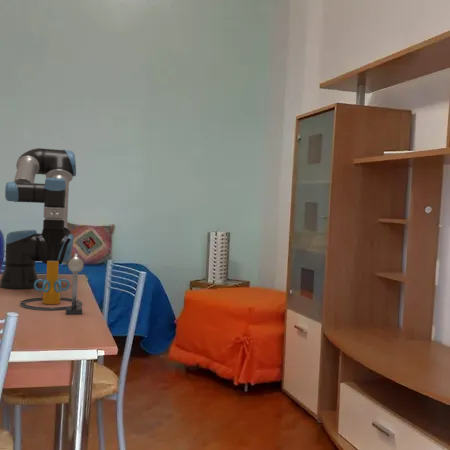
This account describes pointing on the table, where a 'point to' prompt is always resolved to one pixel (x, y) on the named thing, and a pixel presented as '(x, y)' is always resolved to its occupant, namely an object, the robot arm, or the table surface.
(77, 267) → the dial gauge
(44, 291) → the cylinder
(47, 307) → the centring ring
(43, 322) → the table surface
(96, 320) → the table surface
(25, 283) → the robot arm
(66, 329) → the table surface
